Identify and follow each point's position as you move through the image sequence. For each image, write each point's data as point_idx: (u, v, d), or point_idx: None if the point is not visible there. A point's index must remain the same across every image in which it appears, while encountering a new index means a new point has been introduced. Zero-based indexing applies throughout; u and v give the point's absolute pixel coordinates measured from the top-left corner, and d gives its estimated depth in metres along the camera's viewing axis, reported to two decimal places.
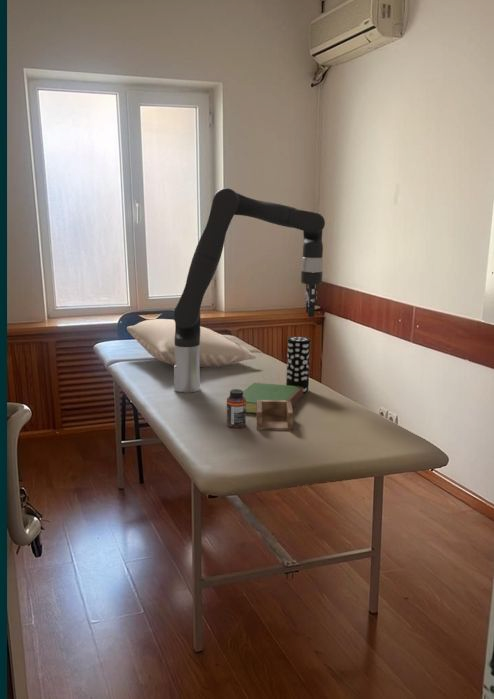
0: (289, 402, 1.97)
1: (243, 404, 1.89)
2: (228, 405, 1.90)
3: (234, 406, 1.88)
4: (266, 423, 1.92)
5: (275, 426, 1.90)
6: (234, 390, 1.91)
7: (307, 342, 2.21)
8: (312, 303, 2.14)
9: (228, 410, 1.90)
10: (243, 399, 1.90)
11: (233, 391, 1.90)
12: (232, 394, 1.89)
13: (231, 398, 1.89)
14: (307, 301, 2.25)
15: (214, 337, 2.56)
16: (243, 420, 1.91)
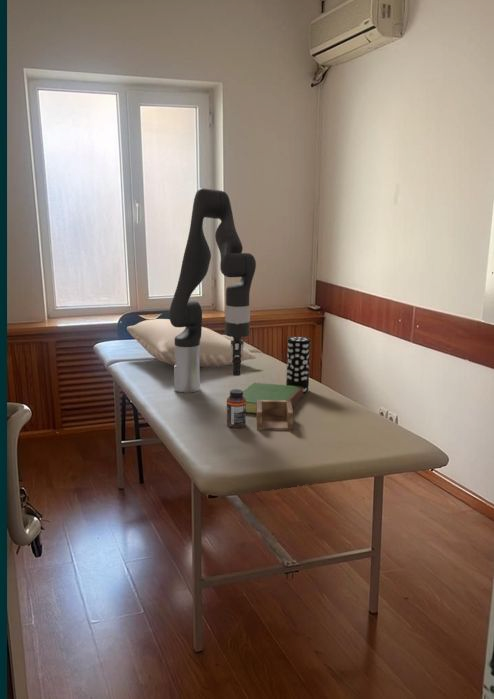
0: (289, 402, 1.97)
1: (243, 404, 1.89)
2: (228, 405, 1.90)
3: (234, 406, 1.88)
4: (266, 423, 1.92)
5: (275, 426, 1.90)
6: (234, 390, 1.91)
7: (307, 342, 2.21)
8: (236, 360, 1.81)
9: (228, 410, 1.90)
10: (243, 399, 1.90)
11: (233, 391, 1.90)
12: (232, 394, 1.89)
13: (231, 398, 1.89)
14: None
15: (214, 337, 2.56)
16: (243, 420, 1.91)
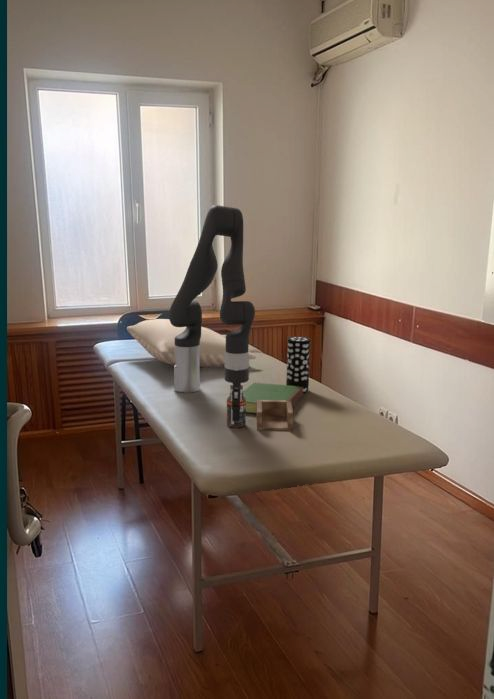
0: (289, 402, 1.97)
1: (243, 404, 1.89)
2: (228, 405, 1.90)
3: None
4: (266, 423, 1.92)
5: (275, 426, 1.90)
6: None
7: (307, 342, 2.21)
8: (235, 407, 1.85)
9: (228, 410, 1.90)
10: (243, 399, 1.90)
11: None
12: None
13: None
14: None
15: (214, 337, 2.56)
16: (243, 420, 1.91)
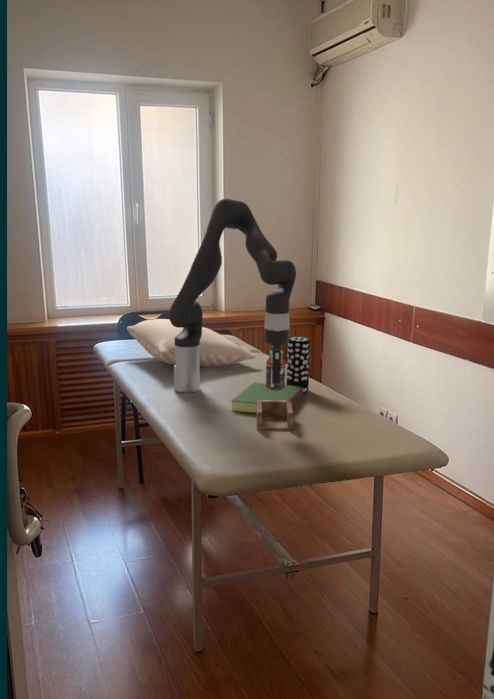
0: (289, 402, 1.97)
1: (283, 366, 1.86)
2: (268, 367, 1.86)
3: None
4: (266, 423, 1.92)
5: (275, 426, 1.90)
6: None
7: (307, 342, 2.21)
8: (276, 368, 1.82)
9: (268, 372, 1.87)
10: (283, 361, 1.86)
11: None
12: None
13: None
14: None
15: (214, 337, 2.56)
16: (283, 383, 1.87)
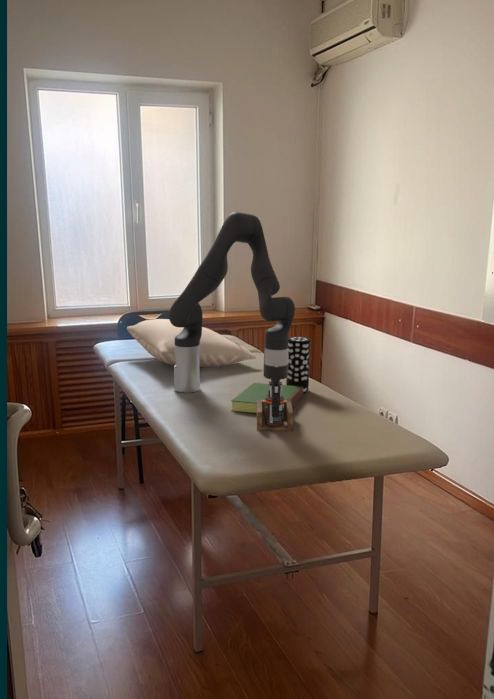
0: (289, 402, 1.97)
1: (282, 403, 1.89)
2: (267, 404, 1.89)
3: None
4: None
5: (275, 426, 1.90)
6: None
7: (307, 342, 2.21)
8: (275, 403, 1.83)
9: (267, 409, 1.89)
10: (282, 398, 1.89)
11: None
12: None
13: None
14: None
15: (214, 337, 2.56)
16: (281, 419, 1.90)
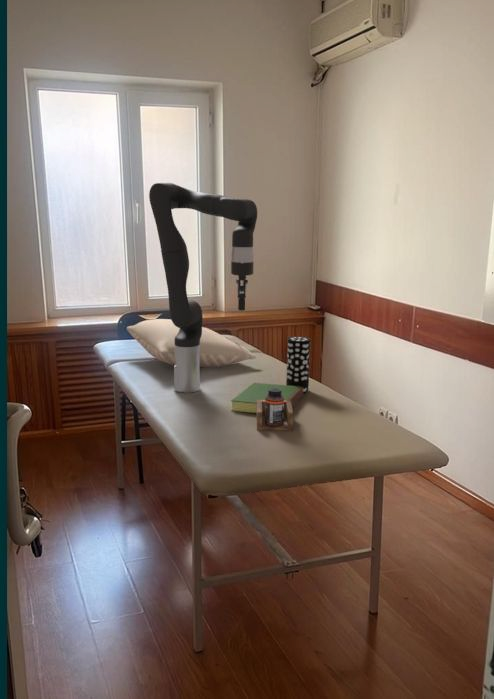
0: (289, 402, 1.97)
1: (282, 403, 1.89)
2: (267, 404, 1.89)
3: (273, 404, 1.88)
4: None
5: (275, 426, 1.90)
6: (272, 388, 1.90)
7: (307, 342, 2.21)
8: (241, 295, 2.02)
9: (267, 409, 1.89)
10: (282, 397, 1.89)
11: (272, 389, 1.89)
12: (271, 392, 1.88)
13: (270, 397, 1.88)
14: (240, 294, 2.13)
15: (214, 337, 2.56)
16: (281, 419, 1.90)
